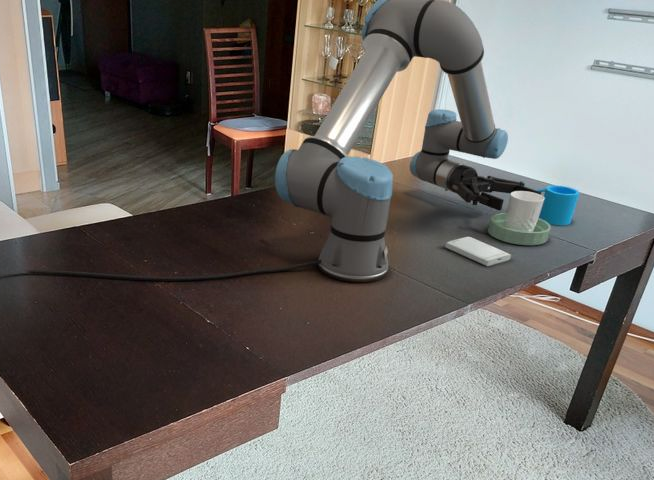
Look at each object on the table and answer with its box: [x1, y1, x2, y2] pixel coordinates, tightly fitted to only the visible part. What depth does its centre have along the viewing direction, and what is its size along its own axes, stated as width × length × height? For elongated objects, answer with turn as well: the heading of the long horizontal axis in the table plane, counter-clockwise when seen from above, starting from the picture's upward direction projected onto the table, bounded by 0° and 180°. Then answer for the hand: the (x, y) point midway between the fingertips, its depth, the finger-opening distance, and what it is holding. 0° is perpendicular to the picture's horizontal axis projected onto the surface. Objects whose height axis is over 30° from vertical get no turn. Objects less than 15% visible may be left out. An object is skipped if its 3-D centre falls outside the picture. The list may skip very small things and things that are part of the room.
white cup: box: [504, 191, 545, 232], centre depth 168 cm, size 8×8×10 cm
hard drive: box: [445, 236, 512, 267], centre depth 159 cm, size 2×8×12 cm
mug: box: [536, 184, 581, 226], centre depth 181 cm, size 12×8×8 cm
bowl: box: [487, 212, 552, 246], centre depth 170 cm, size 14×14×4 cm
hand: (520, 201), depth 168 cm, fingers open, 13 cm apart
